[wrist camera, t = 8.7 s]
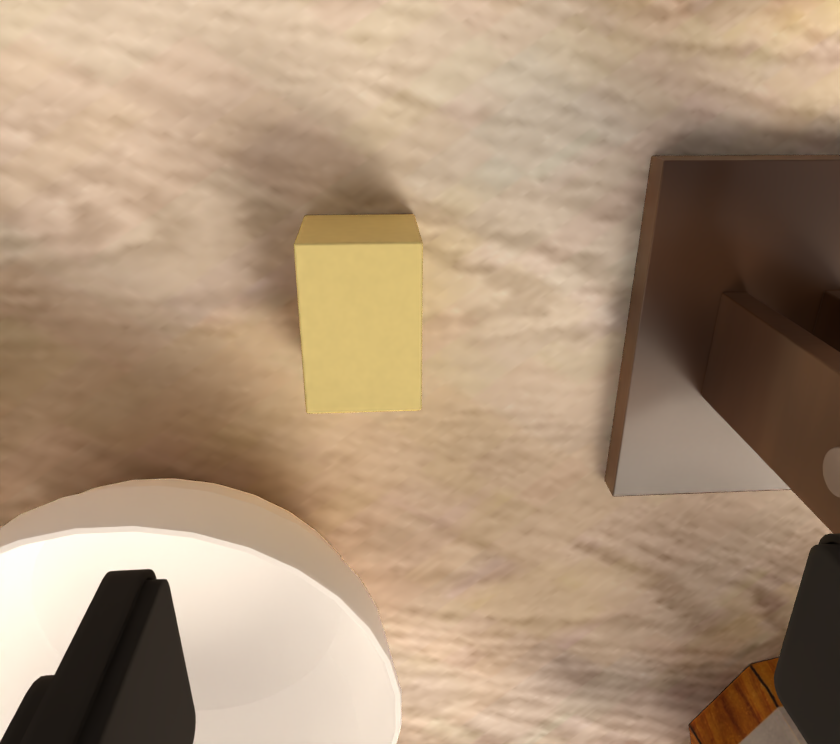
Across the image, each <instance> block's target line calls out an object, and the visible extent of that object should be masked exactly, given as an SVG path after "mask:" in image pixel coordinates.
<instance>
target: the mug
mask: <svg viewBox="0 0 840 744" xmlns="http://www.w3.org/2000/svg"><path fill="white" fill-rule="evenodd" d="M778 659H779V658H775V659H771V660H767V661H763V662H759V663H754V664H751V665H750V666H749V667H748V668H746V669H745V670H744V671H743V672H742V673H741V674H740V675H739V676H738V677H737V678H736V679H735V680H734V681H733V682H732V683H731V684H730V685H729V686H728V687H727V688H726V689H725V690H724V691H723V692H722V693H721V694H720V695H719V696H718V697H717V698H716V699H715V700H714V701H713V702H712V703H711V704H710V705H709V706H708V707H707V708H706V709H705V710H704V711H703V712H701V713H700V714H699V715H698V716H697V717H696V718H695V719H694V720H693V721H692V722H691V723H690V724H689V730H690V738H691V744H807V742H806V741H805V739H804V738H803V736H802V735H801V733H800V732H799V730H798V728H797V727H796V725H795V724H794V722H793V721H792V719H791V718H790V716H789V714H788V713H787V711H786V710H785V708H784V707H783V705H782V703H781V702H780V700H779V698H778V696H777V693H776V690H775V686H774V673H775V669H776V666H777V662H778Z"/></svg>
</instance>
